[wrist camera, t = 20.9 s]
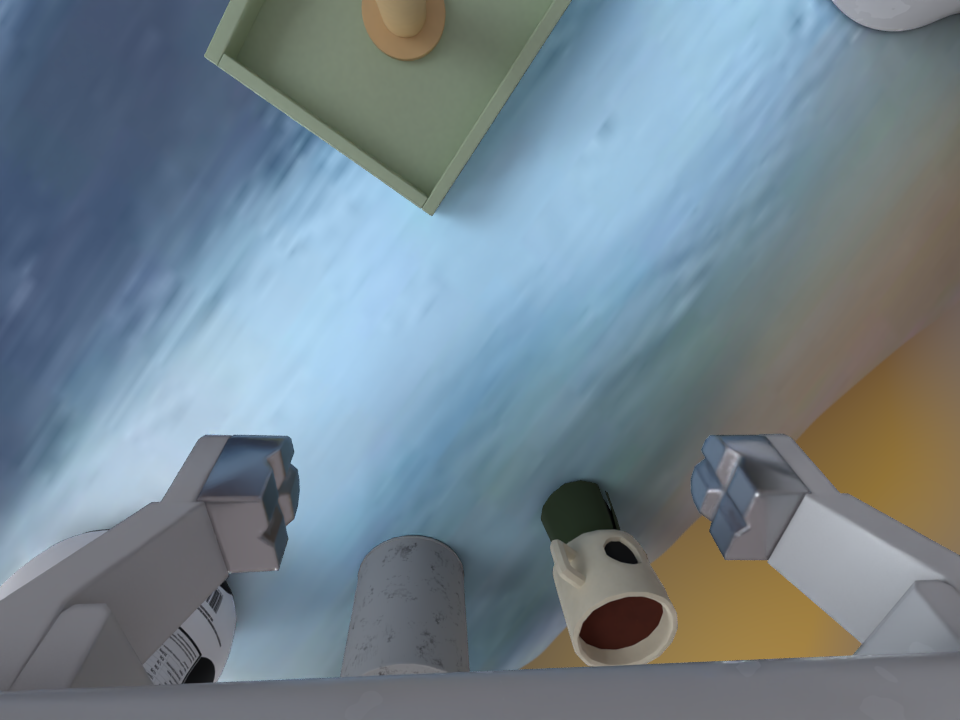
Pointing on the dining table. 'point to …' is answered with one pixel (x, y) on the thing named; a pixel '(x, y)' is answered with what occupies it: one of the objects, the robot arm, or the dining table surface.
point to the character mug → (605, 581)
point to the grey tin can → (408, 611)
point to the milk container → (188, 650)
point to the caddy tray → (388, 75)
